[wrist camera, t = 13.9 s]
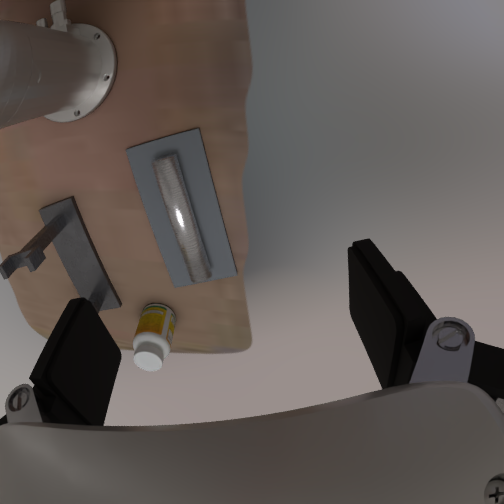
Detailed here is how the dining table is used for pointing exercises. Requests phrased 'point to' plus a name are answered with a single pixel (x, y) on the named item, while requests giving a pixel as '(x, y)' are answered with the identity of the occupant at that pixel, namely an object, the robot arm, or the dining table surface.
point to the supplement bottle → (153, 336)
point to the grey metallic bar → (181, 217)
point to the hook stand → (68, 254)
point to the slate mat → (200, 197)
